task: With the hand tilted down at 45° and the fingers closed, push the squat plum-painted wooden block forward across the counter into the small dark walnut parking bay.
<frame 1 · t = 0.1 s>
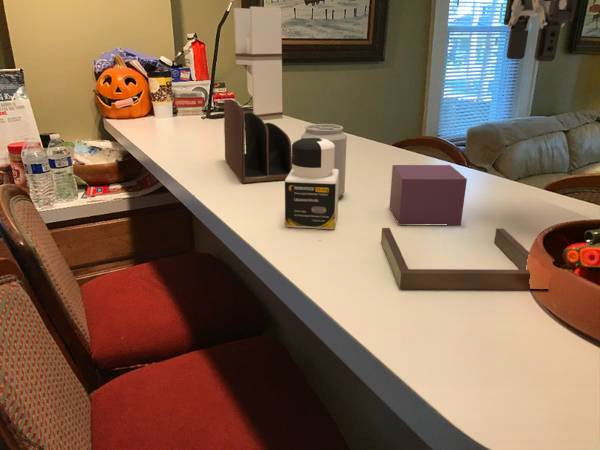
hand: (528, 60, 62), 23 cm above the breakfast bar, tool pointing down, fingers open, 8 cm apart
letter holder: (256, 170, 98), on the breakfast bar
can: (322, 196, 81), on the breakfast bar
medicine bottle: (312, 221, 70), on the breakfast bar
bay: (455, 263, 56), on the breakfast bar
white stepped pillar: (260, 118, 165), on the breakfast bar
block: (423, 216, 72), on the breakfast bar
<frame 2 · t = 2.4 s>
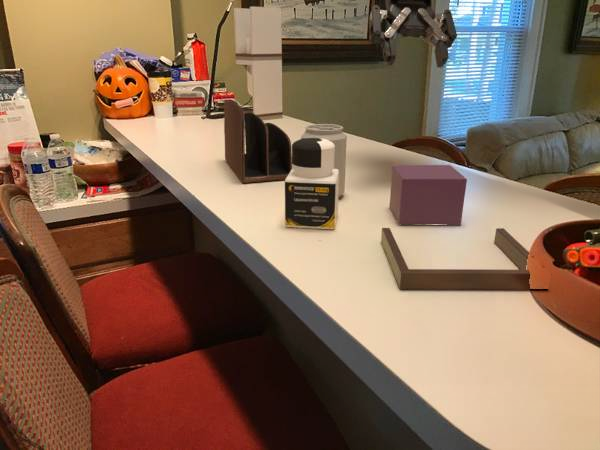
hand: (417, 63, 77), 22 cm above the breakfast bar, tool tilted 40°, fingers open, 8 cm apart
nothing on the breakfast bar moved.
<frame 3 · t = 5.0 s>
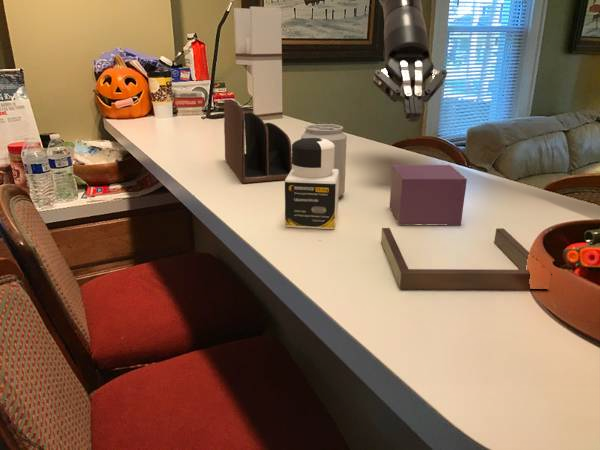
hand: (414, 118, 78), 13 cm above the breakfast bar, tool tilted 45°, fingers closed
nothing on the breakfast bar moved.
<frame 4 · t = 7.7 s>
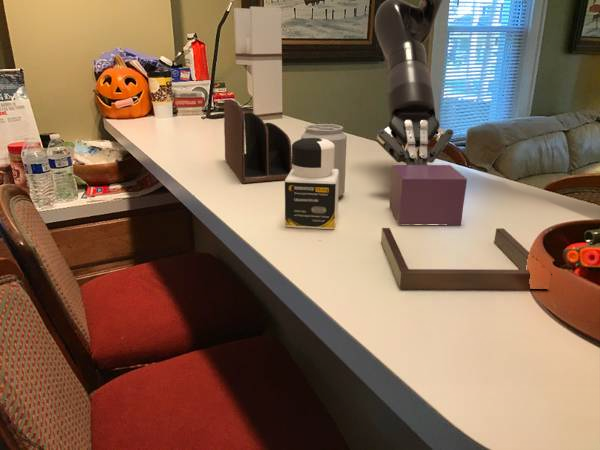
hand: (419, 182, 75), 4 cm above the breakfast bar, tool tilted 45°, fingers closed
block: (423, 216, 72), on the breakfast bar, touching gripper
everything else where it was.
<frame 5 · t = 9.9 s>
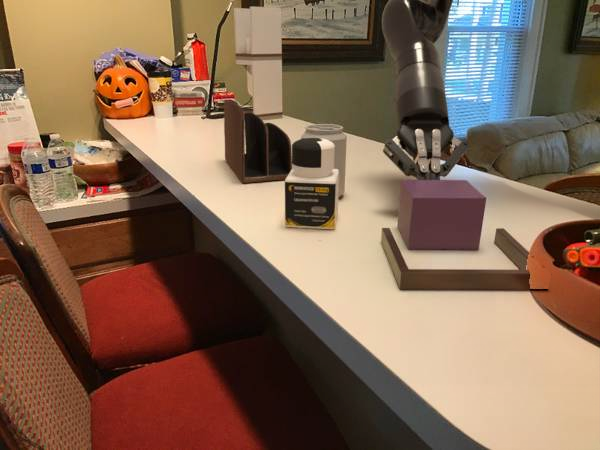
hand: (431, 199, 67), 4 cm above the breakfast bar, tool tilted 45°, fingers closed
block: (435, 237, 64), on the breakfast bar, touching gripper
everything else where it was.
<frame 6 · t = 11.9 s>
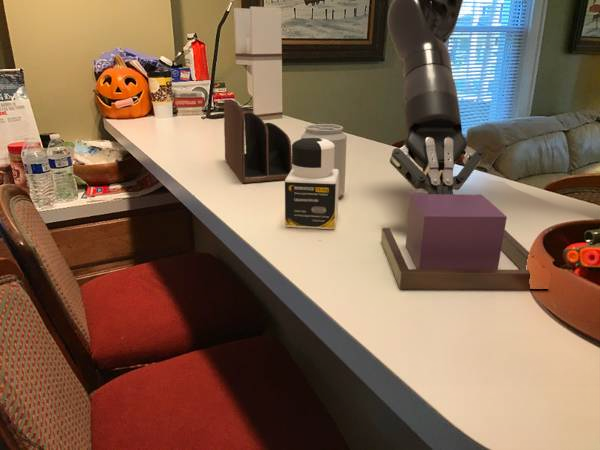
hand: (443, 215, 61), 4 cm above the breakfast bar, tool tilted 45°, fingers closed
block: (448, 258, 58), on the breakfast bar, touching gripper
everything else where it was.
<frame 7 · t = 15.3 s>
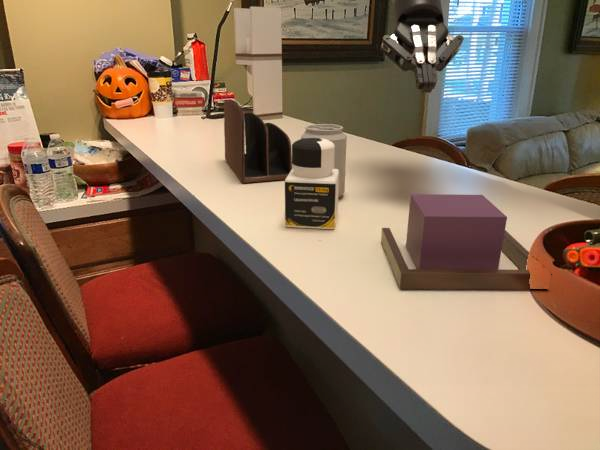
hand: (427, 88, 69), 18 cm above the breakfast bar, tool tilted 45°, fingers closed
block: (448, 258, 58), on the breakfast bar
everything else where it was.
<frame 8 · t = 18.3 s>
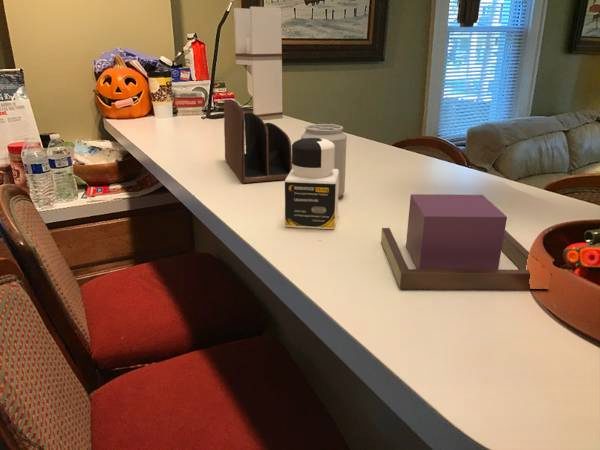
hand: (466, 26, 73), 27 cm above the breakfast bar, tool pointing down, fingers closed
nothing on the breakfast bar moved.
at the end: block inside the target area (0.6 cm from its centre), on the breakfast bar; block tilted 0°; block moved 15.2 cm from its start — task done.
